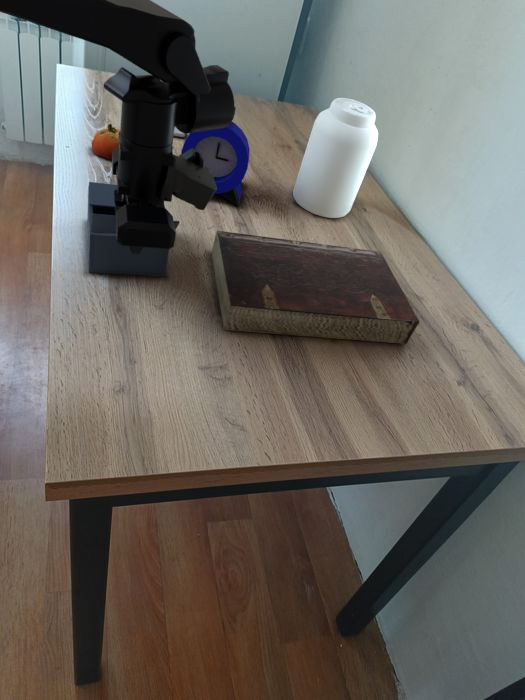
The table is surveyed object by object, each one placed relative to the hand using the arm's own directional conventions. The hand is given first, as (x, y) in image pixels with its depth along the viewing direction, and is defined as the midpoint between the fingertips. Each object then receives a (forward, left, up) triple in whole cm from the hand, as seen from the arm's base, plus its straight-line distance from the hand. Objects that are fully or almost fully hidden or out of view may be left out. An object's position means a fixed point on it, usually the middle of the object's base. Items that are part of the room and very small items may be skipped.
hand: (135, 253), depth 70 cm
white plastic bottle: (+40, +34, -8) cm, 53 cm away
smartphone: (+11, +63, -8) cm, 64 cm away
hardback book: (+27, +3, -8) cm, 29 cm away
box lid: (0, +4, +1) cm, 4 cm away
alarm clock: (+17, +36, -8) cm, 41 cm away
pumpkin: (-1, +45, -8) cm, 45 cm away
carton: (0, +13, -8) cm, 15 cm away
